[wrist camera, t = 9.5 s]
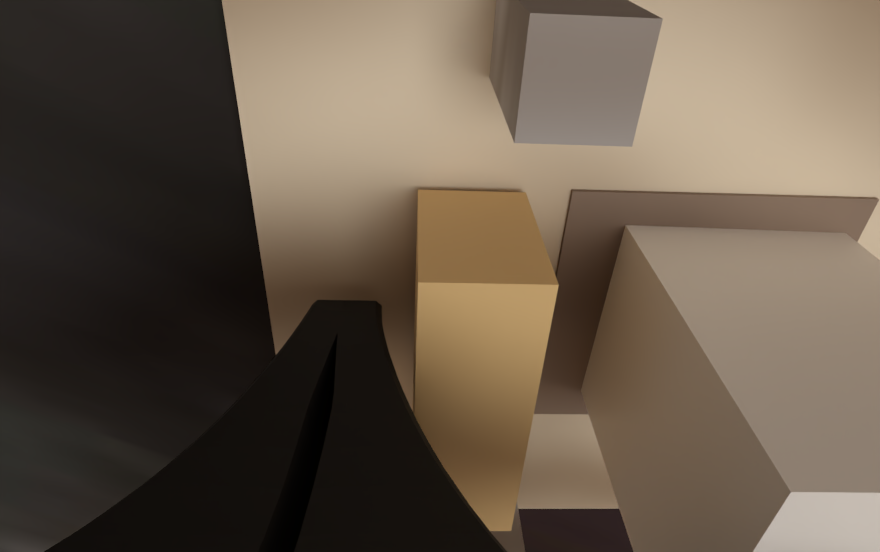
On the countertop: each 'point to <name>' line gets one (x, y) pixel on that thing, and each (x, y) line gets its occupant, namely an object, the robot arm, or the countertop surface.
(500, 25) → the press bed
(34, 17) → the countertop surface
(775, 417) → the block
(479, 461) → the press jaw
